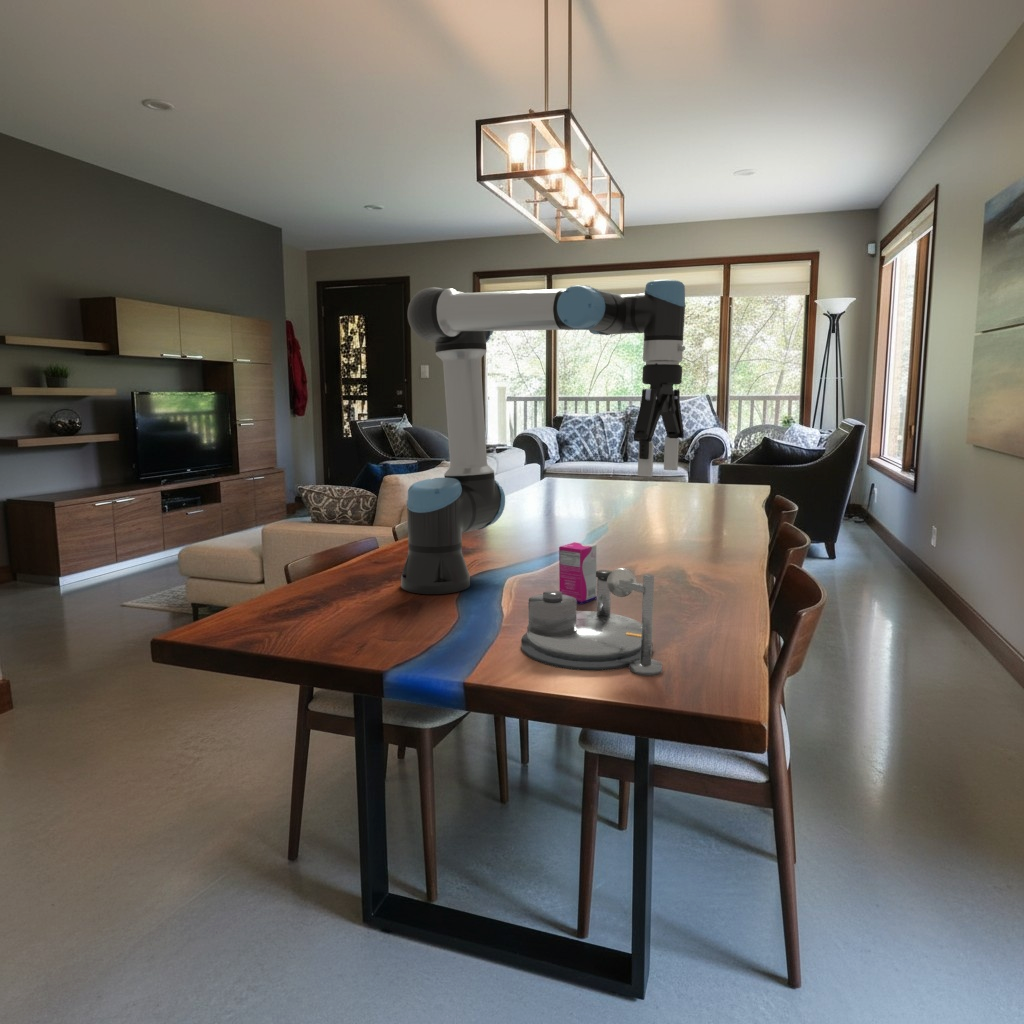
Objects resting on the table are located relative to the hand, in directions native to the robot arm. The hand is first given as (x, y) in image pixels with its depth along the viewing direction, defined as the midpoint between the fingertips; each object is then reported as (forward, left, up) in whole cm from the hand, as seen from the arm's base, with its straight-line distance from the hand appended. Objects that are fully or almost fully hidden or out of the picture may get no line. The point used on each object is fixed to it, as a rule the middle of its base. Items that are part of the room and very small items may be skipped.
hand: (658, 473), depth 149 cm
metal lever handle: (+7, -37, -27) cm, 46 cm away
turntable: (-3, -31, -25) cm, 40 cm away
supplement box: (-15, -4, -27) cm, 31 cm away
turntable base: (-3, -31, -27) cm, 41 cm away
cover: (-8, -34, -23) cm, 42 cm away
